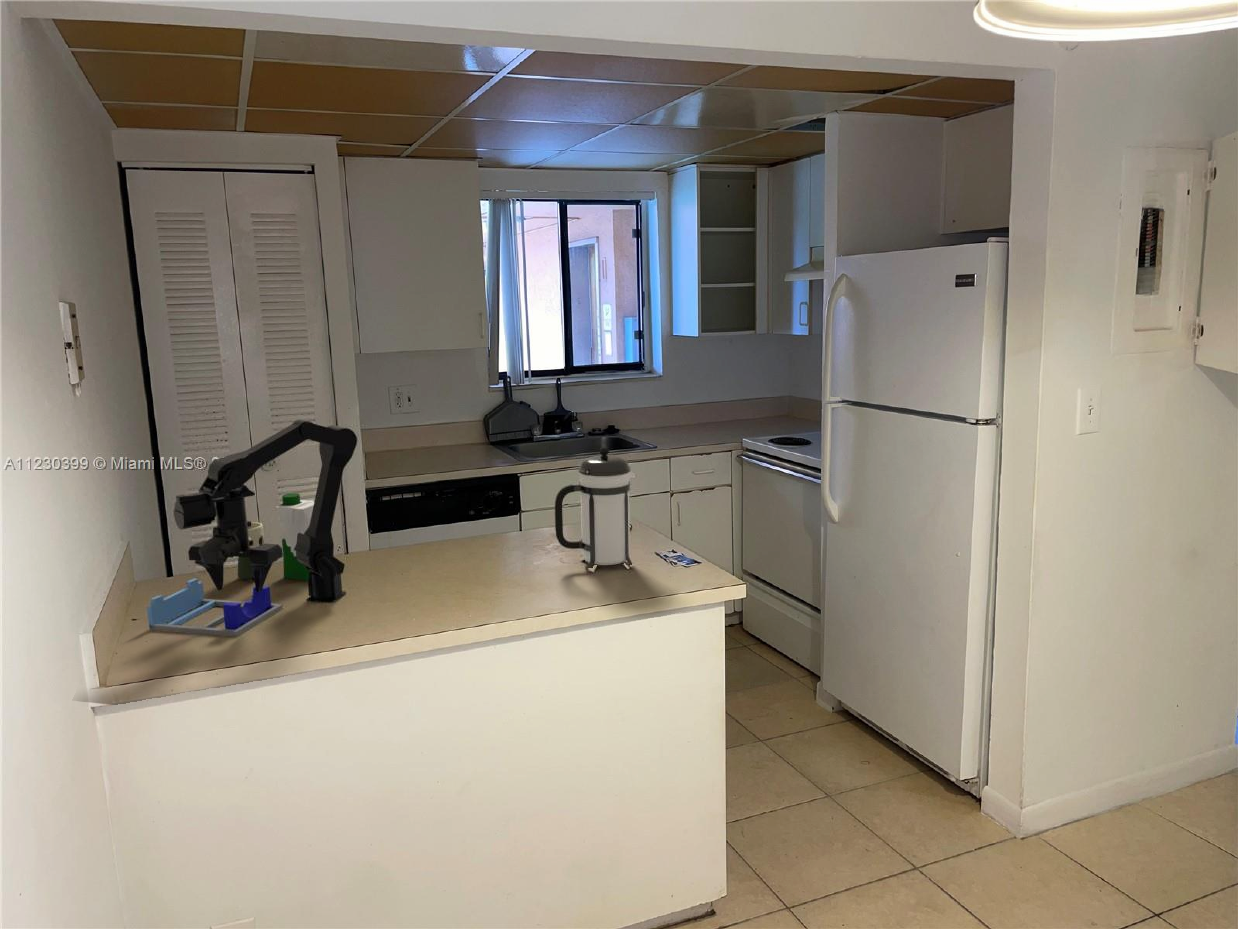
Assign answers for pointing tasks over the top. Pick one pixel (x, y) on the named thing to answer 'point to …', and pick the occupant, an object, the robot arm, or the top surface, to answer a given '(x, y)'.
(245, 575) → the character mug
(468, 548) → the top surface
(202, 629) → the blue grey rack
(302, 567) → the milk carton
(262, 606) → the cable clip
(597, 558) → the coffee press
